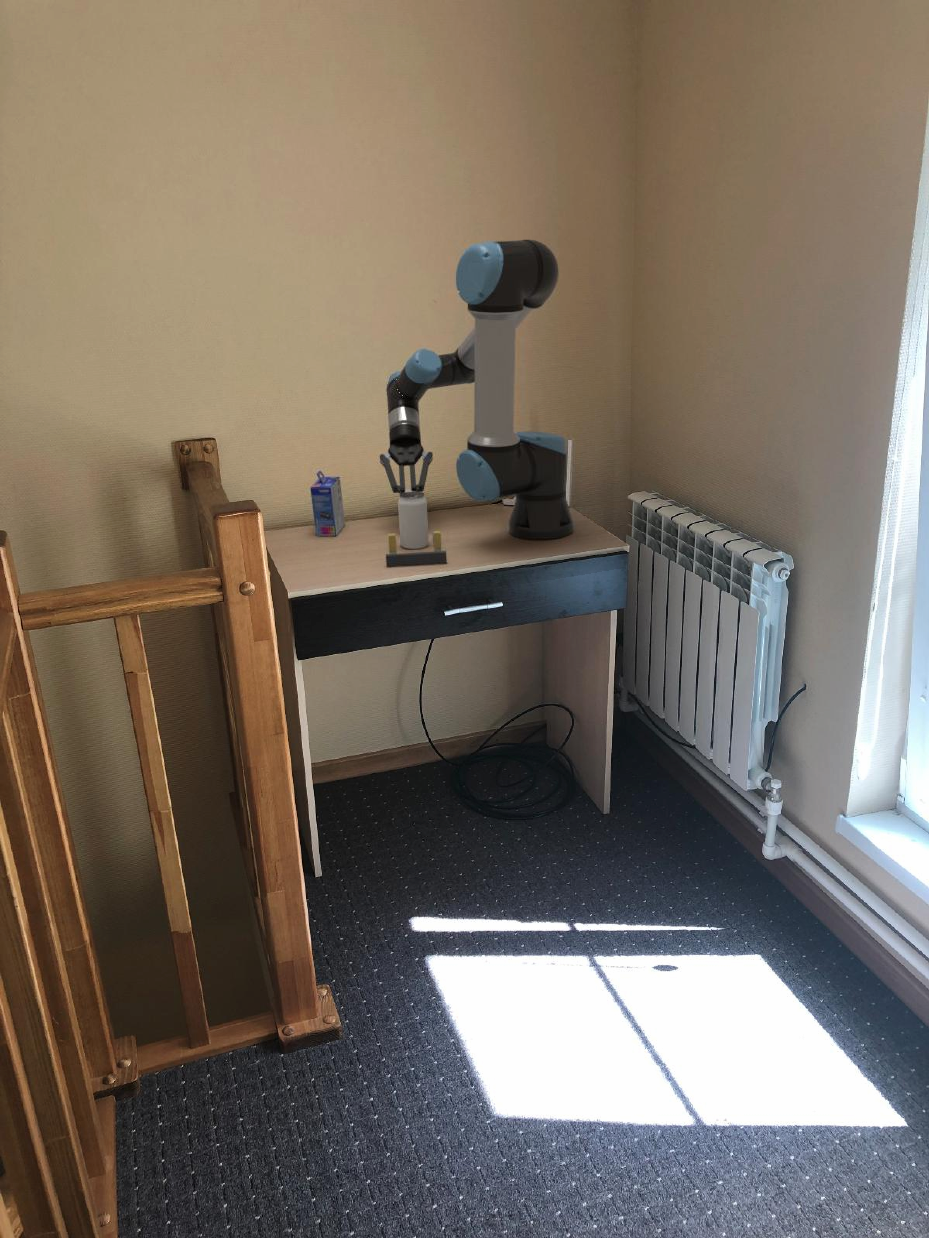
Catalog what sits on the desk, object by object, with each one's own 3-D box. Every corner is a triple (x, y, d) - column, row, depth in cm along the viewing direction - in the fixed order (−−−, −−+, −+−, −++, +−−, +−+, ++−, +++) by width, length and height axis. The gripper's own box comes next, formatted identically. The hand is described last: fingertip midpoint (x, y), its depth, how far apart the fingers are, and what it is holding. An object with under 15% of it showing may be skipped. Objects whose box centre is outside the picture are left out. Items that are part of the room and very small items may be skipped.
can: (434, 546, 234) (431, 495, 229) (409, 551, 230) (406, 499, 226) (419, 539, 239) (417, 489, 234) (395, 544, 236) (392, 494, 231)
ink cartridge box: (323, 524, 253) (318, 467, 248) (345, 524, 252) (340, 466, 247) (314, 536, 244) (308, 477, 239) (337, 536, 243) (331, 476, 238)
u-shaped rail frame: (441, 537, 240) (440, 516, 238) (446, 563, 222) (445, 541, 220) (386, 540, 239) (384, 520, 237) (386, 567, 221) (385, 544, 219)
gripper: (431, 438, 251) (437, 523, 242) (378, 441, 251) (382, 526, 241) (431, 420, 244) (437, 507, 235) (376, 423, 244) (381, 510, 235)
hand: (409, 516), depth 238 cm, fingers closed
